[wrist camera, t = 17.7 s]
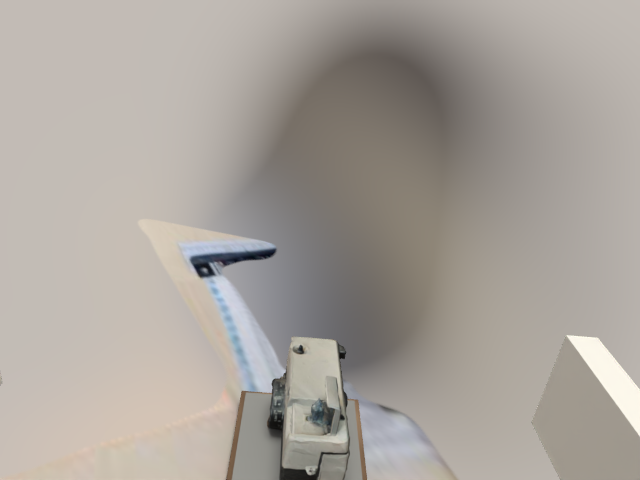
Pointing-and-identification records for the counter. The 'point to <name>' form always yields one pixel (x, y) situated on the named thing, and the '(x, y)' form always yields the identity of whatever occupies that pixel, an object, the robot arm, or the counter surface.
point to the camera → (311, 412)
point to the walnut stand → (279, 441)
